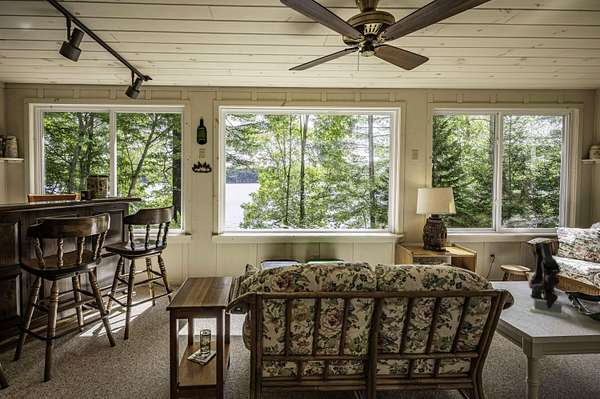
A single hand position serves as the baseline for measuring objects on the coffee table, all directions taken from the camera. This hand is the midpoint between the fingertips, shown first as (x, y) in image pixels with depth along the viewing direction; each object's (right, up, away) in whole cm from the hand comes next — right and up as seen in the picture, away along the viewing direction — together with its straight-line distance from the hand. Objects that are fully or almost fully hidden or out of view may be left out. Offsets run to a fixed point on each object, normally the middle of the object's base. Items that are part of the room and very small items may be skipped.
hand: (547, 305), depth 198 cm
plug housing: (0, -2, 0) cm, 2 cm away
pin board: (0, -4, 0) cm, 4 cm away
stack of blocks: (+30, -3, +49) cm, 57 cm away
